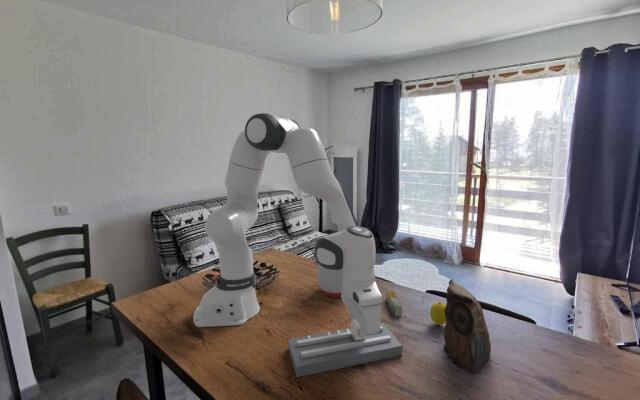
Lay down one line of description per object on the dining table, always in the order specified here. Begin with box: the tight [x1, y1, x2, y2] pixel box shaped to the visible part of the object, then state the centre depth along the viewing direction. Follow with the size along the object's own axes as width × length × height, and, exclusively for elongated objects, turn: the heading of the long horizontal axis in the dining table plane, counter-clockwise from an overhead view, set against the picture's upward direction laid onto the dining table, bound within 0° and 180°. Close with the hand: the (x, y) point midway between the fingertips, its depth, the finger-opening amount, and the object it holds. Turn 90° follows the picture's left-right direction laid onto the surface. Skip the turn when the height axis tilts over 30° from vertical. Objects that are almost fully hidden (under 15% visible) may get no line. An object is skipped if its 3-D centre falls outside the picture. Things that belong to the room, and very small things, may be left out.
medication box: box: [385, 290, 403, 318], centre depth 115 cm, size 12×3×4 cm, turn 3°
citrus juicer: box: [311, 257, 343, 298], centre depth 127 cm, size 16×17×20 cm
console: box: [287, 322, 403, 378], centre depth 91 cm, size 30×12×4 cm, turn 106°
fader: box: [350, 319, 366, 342], centre depth 92 cm, size 3×4×5 cm
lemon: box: [429, 301, 446, 326], centre depth 103 cm, size 6×6×8 cm
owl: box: [443, 279, 492, 375], centre depth 88 cm, size 13×13×20 cm
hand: (358, 330), depth 91 cm, fingers closed on fader, 4 cm apart
